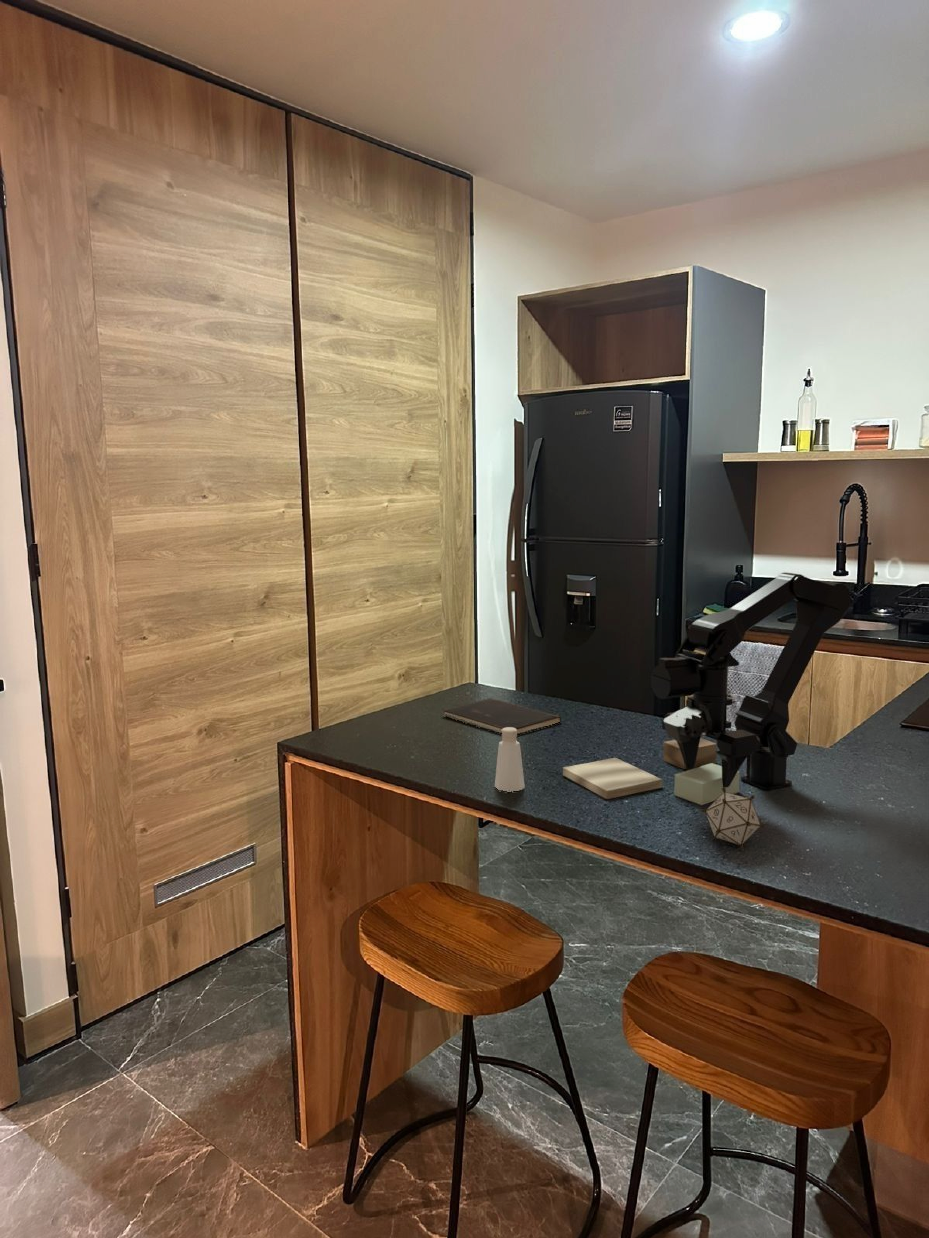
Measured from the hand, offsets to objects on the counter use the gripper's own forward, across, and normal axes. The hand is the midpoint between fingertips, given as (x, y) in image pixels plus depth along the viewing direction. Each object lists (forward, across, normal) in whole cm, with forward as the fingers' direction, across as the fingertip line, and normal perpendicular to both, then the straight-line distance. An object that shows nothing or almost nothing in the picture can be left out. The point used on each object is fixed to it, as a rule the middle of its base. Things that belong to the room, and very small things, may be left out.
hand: (707, 778), depth 153 cm
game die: (+3, +18, -11) cm, 21 cm away
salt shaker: (+3, -19, -29) cm, 35 cm away
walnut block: (+3, -15, +9) cm, 18 cm away
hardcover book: (+3, -59, -9) cm, 60 cm away
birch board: (+3, -13, -11) cm, 17 cm away
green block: (+3, 0, 0) cm, 3 cm away
